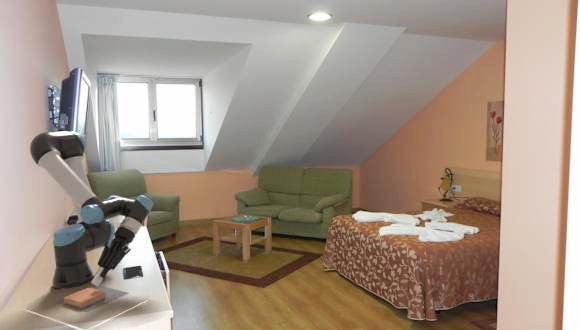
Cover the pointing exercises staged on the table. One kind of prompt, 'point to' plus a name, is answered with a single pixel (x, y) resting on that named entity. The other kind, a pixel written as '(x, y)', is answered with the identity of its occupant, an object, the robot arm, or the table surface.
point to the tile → (84, 297)
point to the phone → (132, 272)
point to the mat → (110, 296)
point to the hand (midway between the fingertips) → (94, 284)
